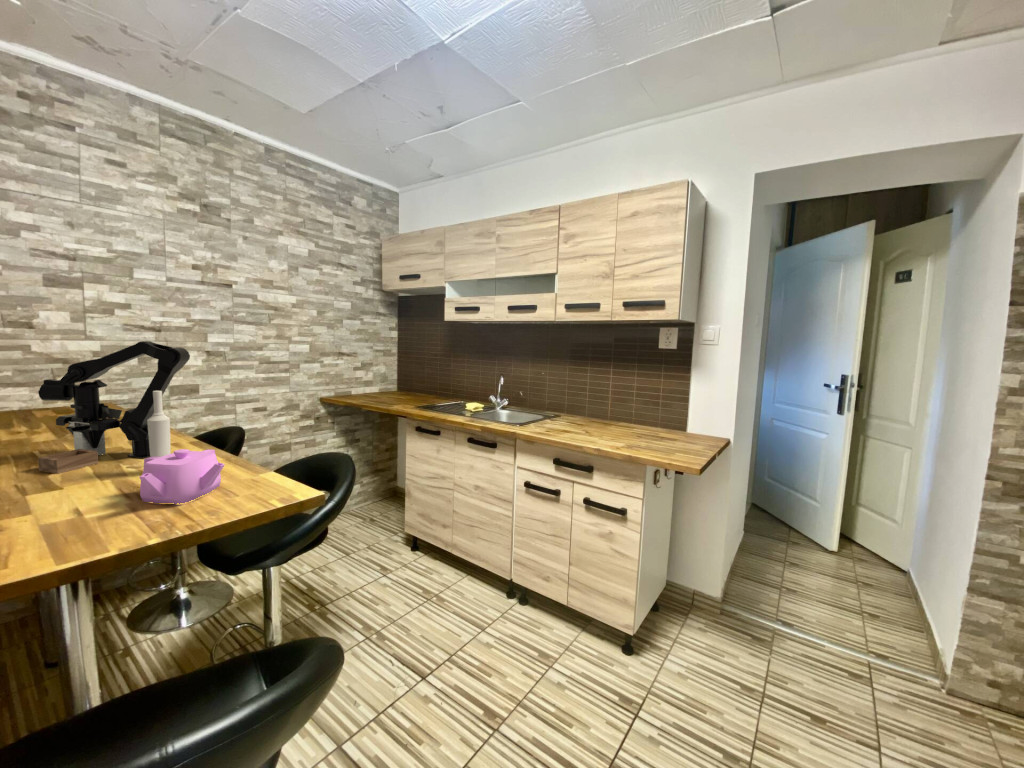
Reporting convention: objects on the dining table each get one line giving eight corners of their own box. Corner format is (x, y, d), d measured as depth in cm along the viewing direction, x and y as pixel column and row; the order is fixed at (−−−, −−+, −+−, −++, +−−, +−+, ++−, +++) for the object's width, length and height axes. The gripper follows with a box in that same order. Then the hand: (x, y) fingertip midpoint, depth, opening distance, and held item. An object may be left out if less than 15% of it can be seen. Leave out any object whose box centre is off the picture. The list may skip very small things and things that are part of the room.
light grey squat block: (105, 454, 135) (104, 428, 134) (83, 459, 129) (81, 432, 128) (97, 453, 136) (96, 427, 135) (75, 458, 130) (73, 431, 129)
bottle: (145, 472, 121) (141, 391, 118) (165, 468, 126) (161, 389, 123) (156, 475, 120) (152, 393, 117) (176, 470, 125) (172, 391, 122)
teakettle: (216, 479, 120) (214, 438, 119) (227, 497, 108) (225, 453, 107) (138, 492, 108) (136, 447, 107) (141, 514, 96) (138, 464, 95)
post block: (98, 463, 127) (97, 451, 126) (57, 473, 117) (56, 460, 117) (80, 461, 128) (79, 448, 128) (39, 470, 119) (38, 457, 118)
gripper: (137, 399, 136) (139, 444, 138) (95, 395, 140) (98, 438, 142) (97, 405, 125) (100, 453, 127) (52, 399, 129) (56, 446, 131)
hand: (90, 447), depth 132 cm, fingers closed on light grey squat block, 3 cm apart
